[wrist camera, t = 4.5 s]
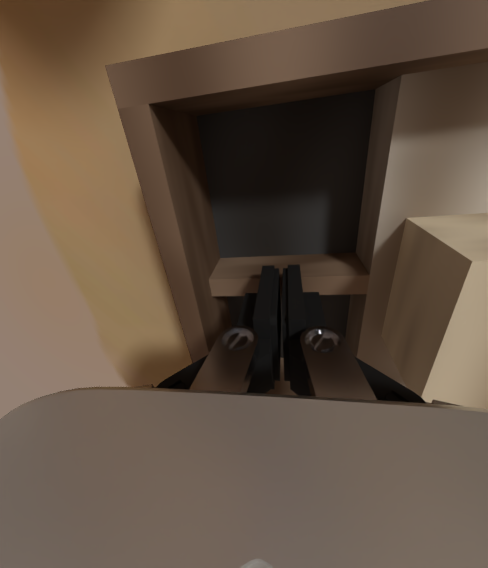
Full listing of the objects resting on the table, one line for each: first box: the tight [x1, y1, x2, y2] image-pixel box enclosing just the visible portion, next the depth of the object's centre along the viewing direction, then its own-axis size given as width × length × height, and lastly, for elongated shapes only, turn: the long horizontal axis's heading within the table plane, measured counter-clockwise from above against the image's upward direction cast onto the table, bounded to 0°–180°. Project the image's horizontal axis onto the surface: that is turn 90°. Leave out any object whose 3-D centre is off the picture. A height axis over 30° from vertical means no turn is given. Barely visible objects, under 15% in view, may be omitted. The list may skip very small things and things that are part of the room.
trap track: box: [105, 0, 488, 395], centre depth 11 cm, size 26×17×5 cm, turn 96°
